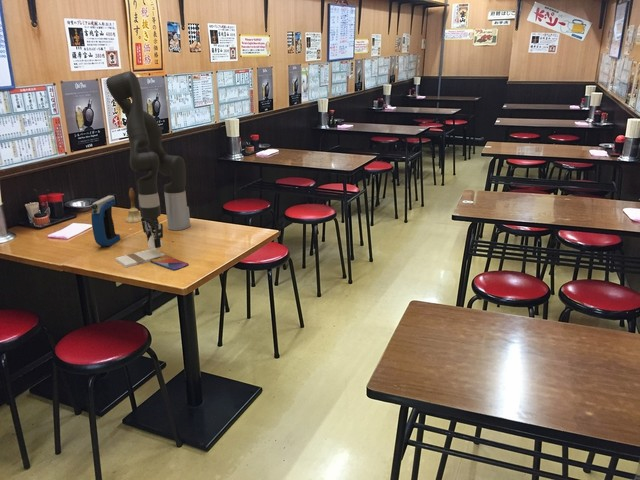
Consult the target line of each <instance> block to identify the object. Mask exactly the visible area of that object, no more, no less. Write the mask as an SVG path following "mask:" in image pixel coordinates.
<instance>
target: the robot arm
mask: <svg viewBox="0 0 640 480" xmlns="http://www.w3.org/2000/svg"><path fill="white" fill-rule="evenodd" d="M105 84H106V87H107V90H108V91H109V94H110V95H111V97H112V98H113V99H114V101H115V103H116V104H117V105H118V106H119V108H120V109H121V110H122V112H123V113H124V115H125V116H126V117H127V119H126V124H125V125H126V126H125V128H126V129H125V130H126V134H127V137H128V141H129V142H128V143H129V147H130V148H129V149H130V152H129V167H130V168H131V170H132V171H133V172H135V173H143V172H148V173H147V174H146V175H144V176H141V177H140V178H138V179H137V183H136V184H137V191H138V206H139V214H140V216H141V217H142V218H141V226H142V231H143V233H145V235H146V240H147V242H148V241H149V238H150V236H151V235H152V234H153V237H154V244H155V248H158V249H160V248H162V247H161V242H160V240H161V239H163V238H164V227H163V223H160V222H159V219H158V218H159V217H161V216H162V212H161V211H162V210H161V203H160V197H159V191H158V190H159V189H158V173H160V174H161V175H162V176H164V177H171V182H169V183H165V184H164V185H163V193H164V202H165V210H166V212H165V213H166V220H167V228H168V229H169V230H171V231H182V230H185V229H188V228H190V227H191V218H190V217H191V216H190V206H188V203H187V194H186V192H187V191H186V184H187V174H186V173H187V170H186V163H185V159H184V158H183V157H182V156H180V155H171V154H167V152H166V151H165V150H164V148H163V145H162V142H163V130H162V129H161V127H160V125H159V123H158V122H157V120H156V118H155V117H154V116H153V115H152V114H150V113H149V112H148V111H145V110H144V104H143V97H142V89H141V84H140V82H139V79H138V76H137V75H136V74H135V73H134V72H133V71H131V70H128V71H124V72H122V73H121V72H120V73H118V74H115V75H112V76H109V77H108V78H107V79H106V81H105ZM129 99H131V101H130V100H129ZM144 149H147V151H145V152H138V151H140V150H144ZM155 233H156V235H155Z"/></svg>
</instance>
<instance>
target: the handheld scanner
mask: <svg viewBox="0 0 640 480" xmlns="http://www.w3.org/2000/svg"><path fill="white" fill-rule="evenodd" d="M115 205H119V202H118V197H117V194H114V193H107V194H106V196H105V197H102V198H100V199H99V200H97V201H94V202H93V203H92V206H91V209H92V210H91V216H90V217H91V227H92V228H91V229H92V232H93V238H94V241H95V243H96V244H97V245H98V246H100V247H112V246H113V245H115V244H116V243H117V242H119V241H120V240H121V235H120V234H117V233H116V230H115V224H114V219H113V215H112V214H113V213H112V211H113V210H112V209H113V208H112V207H114V206H115Z"/></svg>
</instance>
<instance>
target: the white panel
mask: <svg viewBox="0 0 640 480" xmlns="http://www.w3.org/2000/svg"><path fill="white" fill-rule="evenodd" d="M165 255H166V254H165V253H163V252H161V251H160V250H158V249H150V248H149V249H146V250H142V251H137V252H134V253H128V254H126V255H122V256H118V257H115V258H114V260H115V262H117V263H119V264H120V265H121V266H123V267H125V268H130V267H134V266H137V265H141V264H144V263H148V262H150V260H152V259H154V258H157V257H161V256H165Z"/></svg>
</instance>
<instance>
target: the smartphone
mask: <svg viewBox="0 0 640 480" xmlns="http://www.w3.org/2000/svg"><path fill="white" fill-rule="evenodd" d="M149 262H150V264H154V265H155V266H159V267H161V268H163V269H168V270H170V271H173V272H174V271H179V270H181V269H184V268H186V267H189V266H190V265H189V262H185V261H182V260H180V259H177V258H174V257H172V256H169V255H166V254H165V256H161V257H157V258H154V259H152V260H150V261H149Z"/></svg>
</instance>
